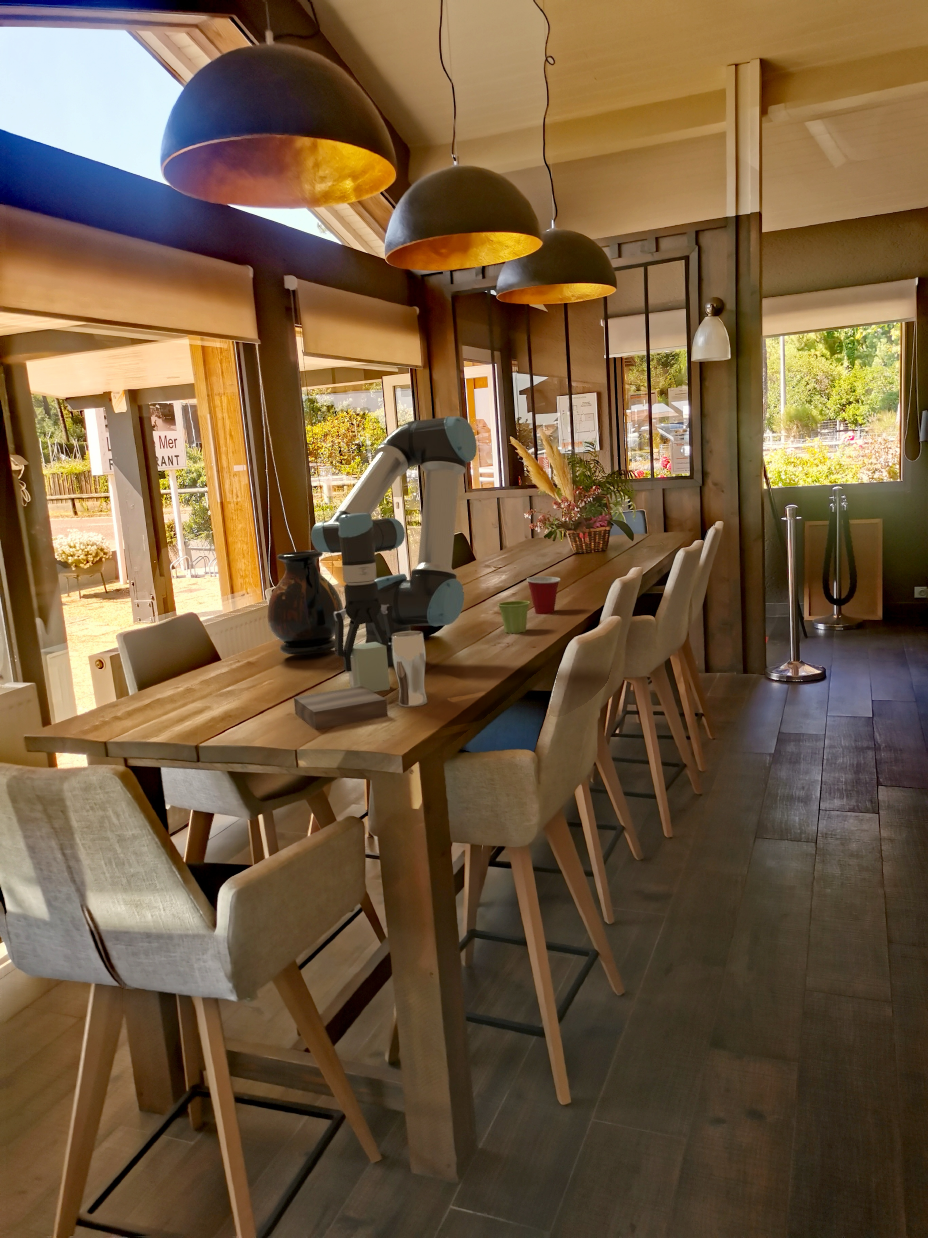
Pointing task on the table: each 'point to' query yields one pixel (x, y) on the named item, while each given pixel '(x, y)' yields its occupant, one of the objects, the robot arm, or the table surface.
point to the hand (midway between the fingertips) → (369, 682)
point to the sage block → (371, 666)
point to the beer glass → (409, 667)
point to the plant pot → (514, 615)
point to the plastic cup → (543, 593)
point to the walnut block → (340, 707)
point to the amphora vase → (303, 606)
